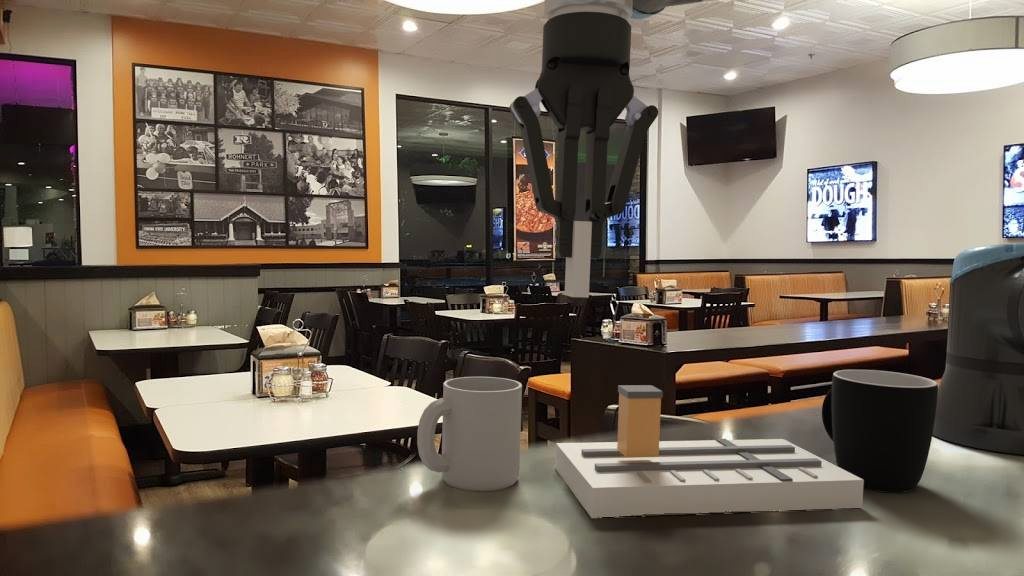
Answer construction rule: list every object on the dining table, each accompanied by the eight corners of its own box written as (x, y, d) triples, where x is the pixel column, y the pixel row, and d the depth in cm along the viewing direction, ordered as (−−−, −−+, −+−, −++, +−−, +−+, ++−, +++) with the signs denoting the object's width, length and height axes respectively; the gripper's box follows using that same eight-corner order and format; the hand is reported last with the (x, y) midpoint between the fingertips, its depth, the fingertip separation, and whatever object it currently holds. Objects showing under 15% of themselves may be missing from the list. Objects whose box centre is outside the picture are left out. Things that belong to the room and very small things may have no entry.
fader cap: (649, 448, 68) (651, 385, 67) (660, 457, 65) (662, 391, 65) (615, 449, 67) (618, 385, 67) (625, 458, 64) (628, 391, 64)
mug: (954, 494, 67) (961, 385, 67) (876, 502, 65) (883, 388, 64) (856, 456, 79) (861, 363, 78) (786, 462, 76) (791, 365, 75)
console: (781, 462, 76) (783, 434, 75) (862, 508, 63) (864, 474, 63) (555, 468, 72) (556, 438, 71) (591, 518, 59) (592, 481, 59)
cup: (533, 485, 67) (536, 388, 66) (433, 502, 61) (435, 397, 61) (495, 463, 73) (497, 374, 72) (401, 477, 68) (402, 381, 67)
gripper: (644, 39, 67) (633, 294, 69) (505, 27, 65) (496, 291, 67) (676, 14, 60) (663, 301, 61) (520, 0, 58) (510, 297, 59)
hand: (576, 295), depth 64 cm, fingers closed
